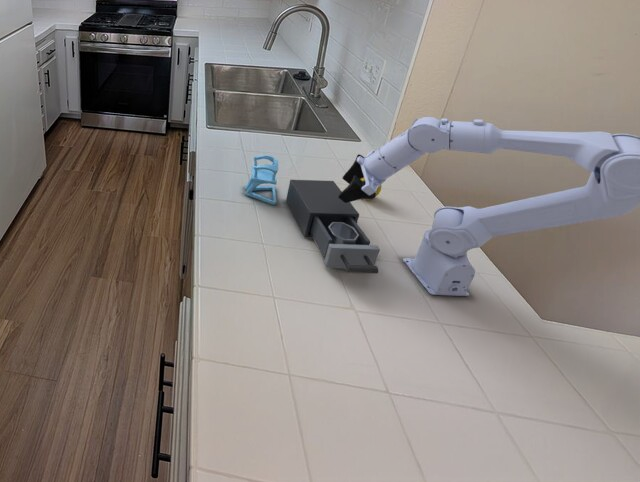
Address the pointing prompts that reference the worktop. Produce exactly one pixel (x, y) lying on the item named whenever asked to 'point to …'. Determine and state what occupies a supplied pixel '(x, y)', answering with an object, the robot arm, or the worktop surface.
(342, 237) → the octagonal metal cup
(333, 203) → the drawer cabinet
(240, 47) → the worktop surface
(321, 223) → the drawer
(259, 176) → the chair
